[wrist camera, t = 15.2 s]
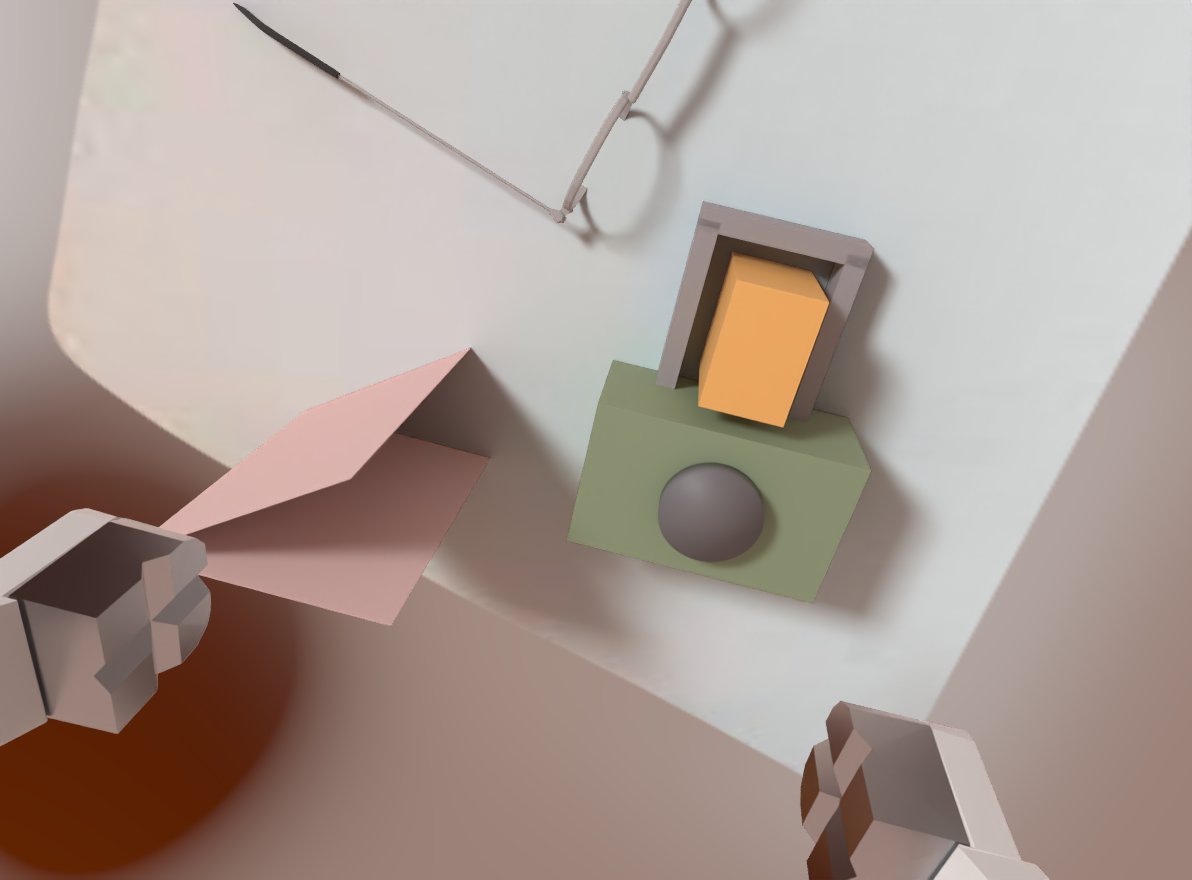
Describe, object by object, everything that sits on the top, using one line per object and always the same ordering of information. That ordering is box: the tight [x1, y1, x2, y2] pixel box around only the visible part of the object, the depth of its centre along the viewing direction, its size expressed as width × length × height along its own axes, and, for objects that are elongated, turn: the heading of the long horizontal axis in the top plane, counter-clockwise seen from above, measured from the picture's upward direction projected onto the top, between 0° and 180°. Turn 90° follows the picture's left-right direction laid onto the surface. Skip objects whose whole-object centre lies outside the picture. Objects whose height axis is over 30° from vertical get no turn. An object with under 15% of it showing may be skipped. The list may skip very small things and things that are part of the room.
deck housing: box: [567, 201, 874, 603], centre depth 35 cm, size 17×13×7 cm
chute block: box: [698, 252, 829, 427], centre depth 34 cm, size 6×4×6 cm, turn 168°
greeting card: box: [159, 348, 490, 626], centre depth 35 cm, size 11×7×15 cm, turn 78°
